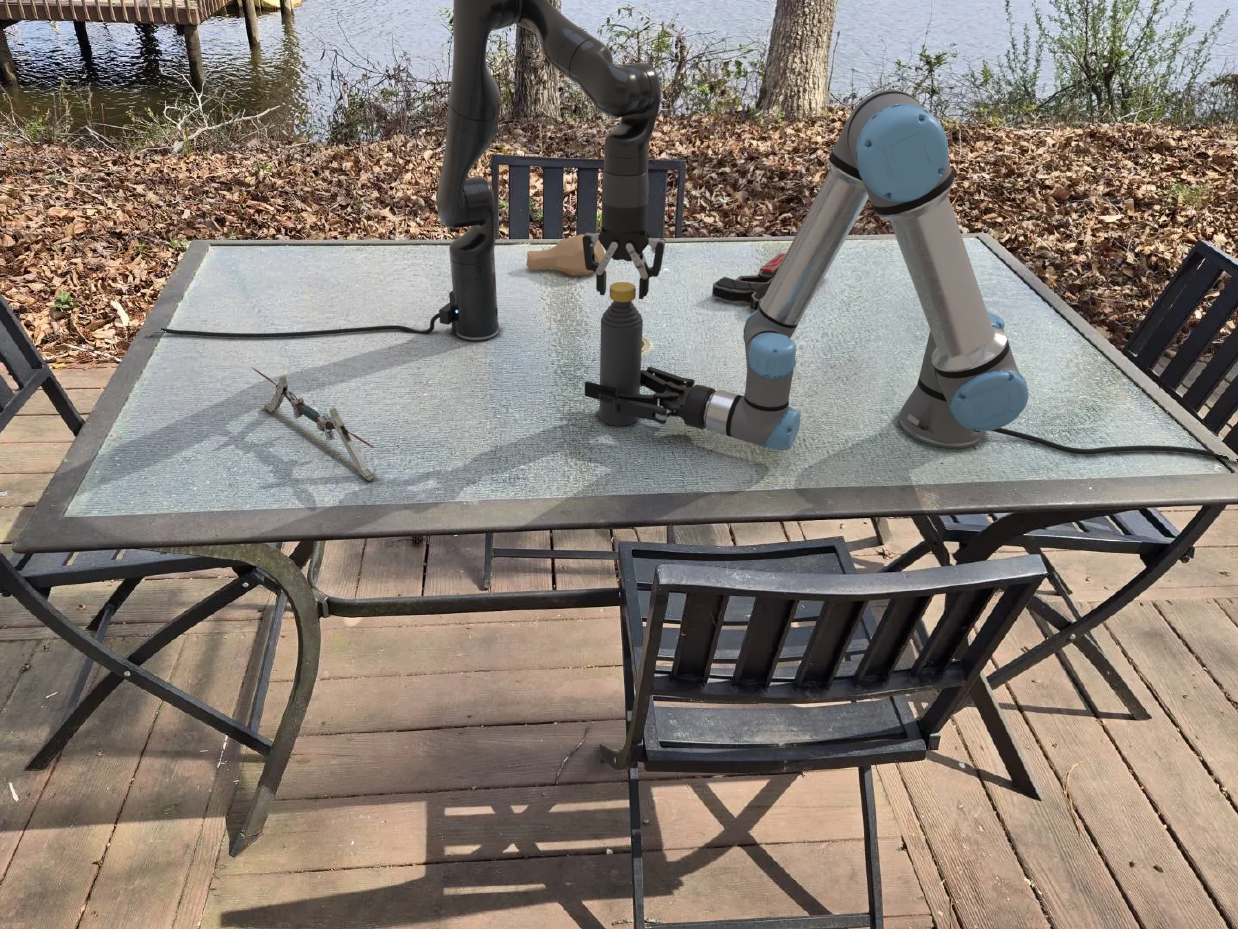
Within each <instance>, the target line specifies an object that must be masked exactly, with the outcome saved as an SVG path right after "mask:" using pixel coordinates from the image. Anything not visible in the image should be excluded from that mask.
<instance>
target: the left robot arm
mask: <svg viewBox="0 0 1238 929" xmlns="http://www.w3.org/2000/svg"><path fill="white" fill-rule="evenodd" d="M452 11H453V12H452V13H453V17H452V18H453V54H452V55H453V57H452V70H451V71H452V72H451V83H450V92H449V98H448V99H449V100H448V107H447V108H448V109H447V121H446V122H447V123H446V135H445V136H446V137H445V147H444V156H443V161H442V165H441V170H440V175H439V181H438V184H437V190H436V191H437V192H436V209H437V215H438V218H439V220H440V222H441V224H442V225H443V226H444V227H446V228H449V229H462V228H468V230H467V231H465V232H464V233H463V234H462V235H460V236H459V237H457V238H456V239H454V240H452V242H451V243H450V244H449V247H448V251H449V263H450V264H449V265H450V275H451V276H450V277H451V286H452V290H451V291H450V292H448V297H449V302H448V303H446V304H445V305H444V306H442V307H440V309H438V313H436V314H434V315H433V316H432V317H431V318H430V320H429V328H427V329H425V330H418V329H414V328H411V327H407V326H404V325H399V324H398V325H397V324H395V325H394V324H393V325H373V326H362V327H349V328H337V329H335V328H334V329H324V330H309V331H308V330H307V331H291V332H255V333H253V332H251V333H249V332H217V331H215V332H213V331H200V330H184V329H183V330H182V329H171V328H164V327H160V328H161V330H163V331H166V332H161V333H163V334H170V335H178V336H179V335H181V336H197V337H198V336H199V337H213V338H238V339H239V338H243V339H250V338H251V339H252V338H253V339H254V338H255V339H257V338H258V339H262V338H264V339H265V338H266V339H267V338H294V337H309V336H310V337H311V336H312V337H313V336H323V335H324V336H326V335H337V334H350V333H351V334H352V333H362V332H363V333H365V332H377V331H391V330H392V331H393V330H395V331H396V330H397V331H403V332H406V333H407V332H408V333H411V334H418V335H428V334H430V333H432V332H433V331H434V330H435V324H436V321H437V320H438V319H439V323H440V324H443V325H448V326H449V325H451V332H452V334H453V335H456V336H457V337H458V338H460V339H462V340H464V341H470V342H479V341H481V342H482V341H486V340H487V341H488V340H491V339H493V338H494V337H495V338H496V337H497V335H499V333H500V327H499V309H498V296H497V295H498V294H497V293H498V292H497V276H496V275H497V274H496V261H495V259H496V258H495V247H496V203H495V202H496V200H495V195H494V191H493V187H492V185H491V183H490V182H489V181H488V179H486V177H482V176H476V177H468V175H469V173H470V171H471V170H472V168H473V167H474V165H475V164H476V163H477V162H478V161H479V159H480V158H481V157H482V156H483V155H484V153H485V152H486V151H487V150H488V149H489V147H490V146H491V144H492V143H493V142H494V140H495V137H496V135H497V132H498V128H499V122H500V115H501V110H502V108H501V107H502V97H501V93H500V90H499V87H498V85H497V82H496V80H495V79H494V77H493V75H492V73H491V71H490V69H489V67H488V64H487V46H488V40H489V37H490V34H491V33H492V32H494V31H498V30H500V29H505V28H508V27H512V26H513V25H517V26H520V27H522V28H524V29H527V30H528V31H530V32H532V33H533V34H534V35H536V37H537V39H538V42H539V44H540V48H541V50H542V53H543V55H544V57H545V58H546V60H547V61H548V63H549V64H551V66H553V68H554V69H556V70H557V71H558V72H560V73H561V74H562V75H564V76H565V77H566V78H568V79H569V80H570V81H572V82H574V83H575V84H577V85H578V86H579V87H580V88H581V89H582V92H583V93H584V94H585V95H586V96H587V98H588V99H589V100H590V101H591V103H592V104H593V105H594V106H595V107H596V108H597V110H599V111H600V112H601V113H603V114H605V115H606V116H607V115H608V116H610V117H612V118H620V121H619V123H618V125H617V126H616V127H615V128H614V129H612V130H611V131H609V132H608V133H607V134H606V136H605V138H604V147H603V150H604V151H603V176H602V182H601V229H600V232H598V233H597V232H596V233H595V232H594V233H593V232H591V231H586V232H585V234H583V235H584V237H583V238H582V241H583V249H584V258H585V267H586V269H587V270H591V271H594V272H593V273H595V277H596V278H595V289H596V292H598V293H599V296H605V295H606V293H607V270H606V268H607V267H608V265H609V263H610V261H611V259H612V260H613V261H626V262H630V263H631V262H632V263H633V265H634V267H635V269H637V271H638V273H639V276H640V278H639V280H638V281H639V282H638V300H644V299H645V297H647V296H648V293H649V289H650V288H649V287H650V278H653V277H654V278H657V277H659V275H660V272H661V269H662V264H663V259H664V254H665V253H664V252H665V247H666V241H667V240H666V239H665V238H664V237H660V238H659V239H657V238H652V237H650V235H649V233H648V217H649V199H650V183H649V182H650V180H649V158H650V157H649V156H650V142H651V140H652V137H653V136H652V135H653V132H654V129H655V126H656V122H657V119H658V114H659V111H660V107H661V101H662V85H661V80H660V77H659V75H658V72H657V71H656V69H655V68H654V67H653V66H652V65H650V64H649V63H646V62H634V63H628V64H623V65H615V64H614V57H613V54H612V52H611V50H610V48H609V47H607V45H606V44H604V43H603V42H602V41H601V40H600V39H597V38H596V37H594V36H593V35H591V34H590V33H589V32H587V31H586V30H584V29H583V28H581V27H580V26H578V25H577V24H575V23H574V22H573V21H571V20H570V19H568V18H567V17H566V16H565V15H563V14H562V12H561V11H559V9H558V8H556V6H554V5H553V4H552V3H551V1H549V0H453V10H452ZM598 240H599V241H600V243H601V245H602V248H603V250H604V251H605V252H604V253H605V255H604V257H603V259H602V261H601V262H600V263H598V262H596V261H595V254H594V247H595V245H596V244H597V241H598ZM648 246H650V250H651V252H652V253H653V254H654V257H653V263H652V266H651V267H649V265H648V262H647V258H646V256H645V253H644V250H646V248H647V247H648ZM158 333H160V332H157V333H156V334H158Z"/></svg>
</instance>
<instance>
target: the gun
mask: <svg viewBox="0 0 1238 929" xmlns="http://www.w3.org/2000/svg"><path fill="white" fill-rule="evenodd" d="M786 254H787V253H784V252H780V253H778V254H777V255H775V256H774V257H773V258H771V259H770V260H768V261H767V262H766V263H765V264H763V265H762V266H761V267H760V269H759V271H758V273H757V274H756V275H753V274H752V275H751V274H750V275H740V276H738V277H737V278H735V279H734V278H731V277H727V276H722V277H720V279H717V281H715V282H713V283H712V291H711V297H713V298H714V299H716V300H719V301H723V302H727V303H730V304H750V305H749V308H750V310H751V312H752V313H753V312H755V311H756V310H757V309H758V308H759V306H760V304H761V302H762V300H763V298H764V296H765V294H766V292H767V290H768V288H769V286H770V284H771V283H772V281H773V279H774V277H775V275H776V273H777V271H778V269H779V267H780V265H781V263H782V261H783V259H784V257H785V256H786Z"/></svg>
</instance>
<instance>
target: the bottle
mask: <svg viewBox="0 0 1238 929" xmlns="http://www.w3.org/2000/svg"><path fill="white" fill-rule="evenodd" d="M643 328H644V319H643V317H642V315H641V313H640V312H639V310H638V309H637V307H636V306H635V305H634V303H633V300H632V301H629V302H618V301H614V300H612V302H611V303H610V305H608V307H607V308H606V309H605V311H604V312H603V313H602V316H601V318H600V344H599V345H600V346H599V347H600V349H599V350H600V351H599V352H600V354H599V355H600V356H599V361H600V362H599V384H600V385H603V386H607V387H611V388H614V389H619V393H630V394H641V386H640V376H641V370H642V353H643V351H642V350H643V331H644V330H643ZM598 414H599V419H600V421H602V422H603V423H605V424H606V425H609V426H615V427H625V426H630V425H632V424H635V423H636V422H637V421H638V420H639V418H638V417H633V416H628V415H623V414H618V413H614V405H613V404H611V403H607V402H604V401H600V400H599V413H598Z"/></svg>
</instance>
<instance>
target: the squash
mask: <svg viewBox="0 0 1238 929" xmlns="http://www.w3.org/2000/svg"><path fill="white" fill-rule="evenodd" d="M584 235H585V234H582V233H580V234H578V235H575V236H572V237H567V238H562V239H561V240H560V241H558V243H557V242H556V245H555V246H553V247H551V248H549V249H543V250H529V251H527V252H526V257H527V258H526V267H527V268H528V270H529V271H530V272H531V271H539V270H554V271H555V270H556V271H559V272H561V273H564V274H567V275H569V276H572V277H577V276H578V277H579V276H580V277H581V276H587V275H589V274H591V273H595V272H594V271H591V270H587V269H586V267H585V258H584V249H583V241H582V238H583V237H584ZM605 253H606V252H605V249H604V247H603V246H602V244H601V243H600V241H599V240H598V241H597V244H596V245H595V247H594V254H595V261H596V262H598V263H600V262H601V261H602V259H603V257H604V255H605Z"/></svg>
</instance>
